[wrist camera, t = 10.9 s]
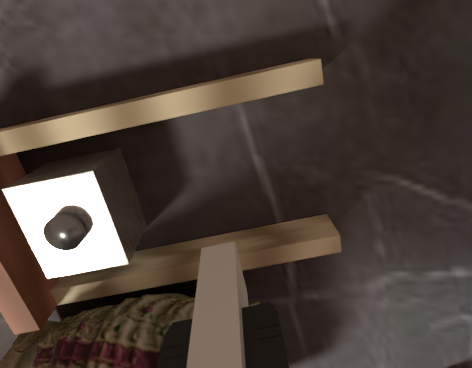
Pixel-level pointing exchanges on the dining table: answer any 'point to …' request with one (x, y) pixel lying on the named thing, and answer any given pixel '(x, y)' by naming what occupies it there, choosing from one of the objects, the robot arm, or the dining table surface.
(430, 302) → the dining table surface
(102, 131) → the channel
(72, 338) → the sculptural head
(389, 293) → the dining table surface
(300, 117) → the dining table surface
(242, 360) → the robot arm
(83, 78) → the dining table surface
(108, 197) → the block
